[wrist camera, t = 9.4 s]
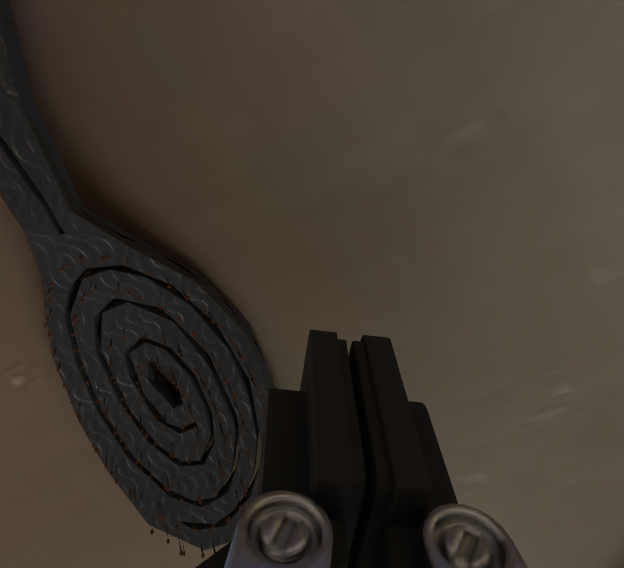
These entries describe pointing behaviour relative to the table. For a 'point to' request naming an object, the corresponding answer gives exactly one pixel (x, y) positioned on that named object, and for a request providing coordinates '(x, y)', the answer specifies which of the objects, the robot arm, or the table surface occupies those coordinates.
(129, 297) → the hairbrush
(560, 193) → the table surface
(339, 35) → the table surface
